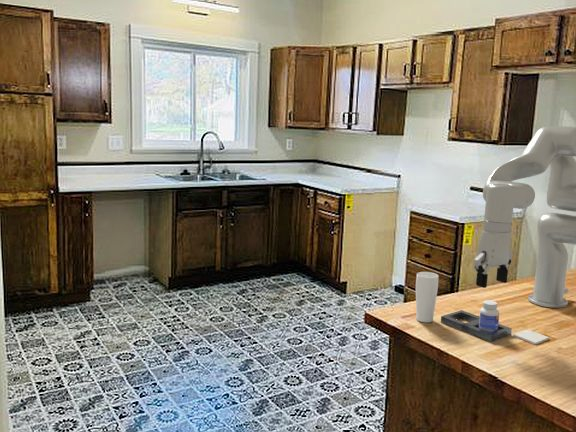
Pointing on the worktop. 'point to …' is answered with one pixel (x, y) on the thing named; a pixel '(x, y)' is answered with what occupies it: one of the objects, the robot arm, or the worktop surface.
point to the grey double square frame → (474, 326)
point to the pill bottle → (489, 316)
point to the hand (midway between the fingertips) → (491, 284)
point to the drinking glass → (426, 296)
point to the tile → (531, 336)
